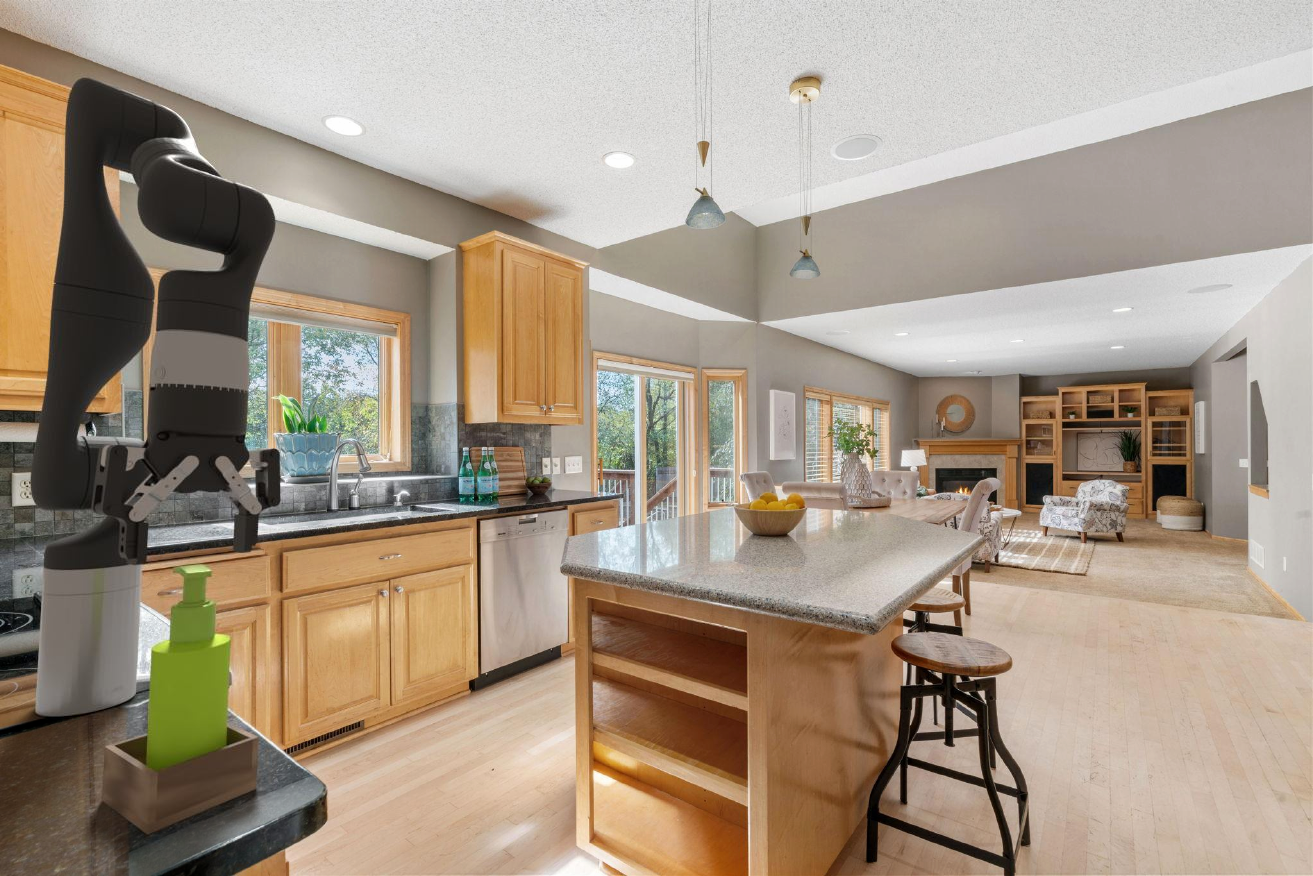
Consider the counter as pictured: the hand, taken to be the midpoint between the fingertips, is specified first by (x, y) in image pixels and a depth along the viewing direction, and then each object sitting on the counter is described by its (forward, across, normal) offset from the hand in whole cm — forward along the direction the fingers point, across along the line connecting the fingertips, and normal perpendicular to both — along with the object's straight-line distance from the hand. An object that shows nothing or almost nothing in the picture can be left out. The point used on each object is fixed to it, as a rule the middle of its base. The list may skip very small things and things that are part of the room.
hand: (192, 557), depth 57 cm
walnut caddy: (+22, 0, 0) cm, 22 cm away
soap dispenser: (+21, 0, 0) cm, 21 cm away
